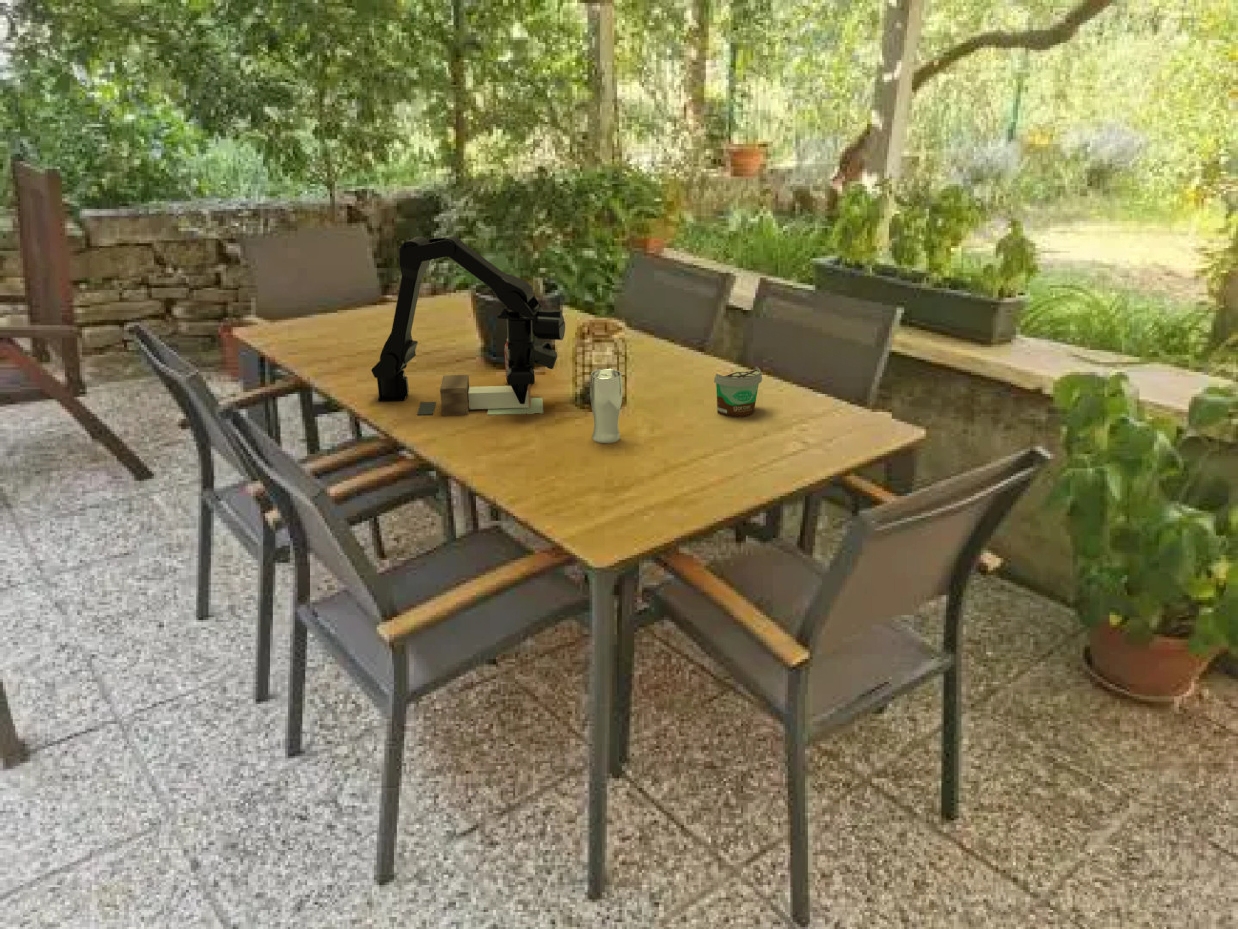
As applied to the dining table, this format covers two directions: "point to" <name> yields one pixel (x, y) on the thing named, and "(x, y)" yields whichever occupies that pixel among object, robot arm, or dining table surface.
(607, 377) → the beer glass
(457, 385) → the tunnel
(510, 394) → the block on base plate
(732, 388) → the food container
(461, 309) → the dining table surface
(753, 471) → the dining table surface
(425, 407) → the pit pad
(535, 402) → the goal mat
